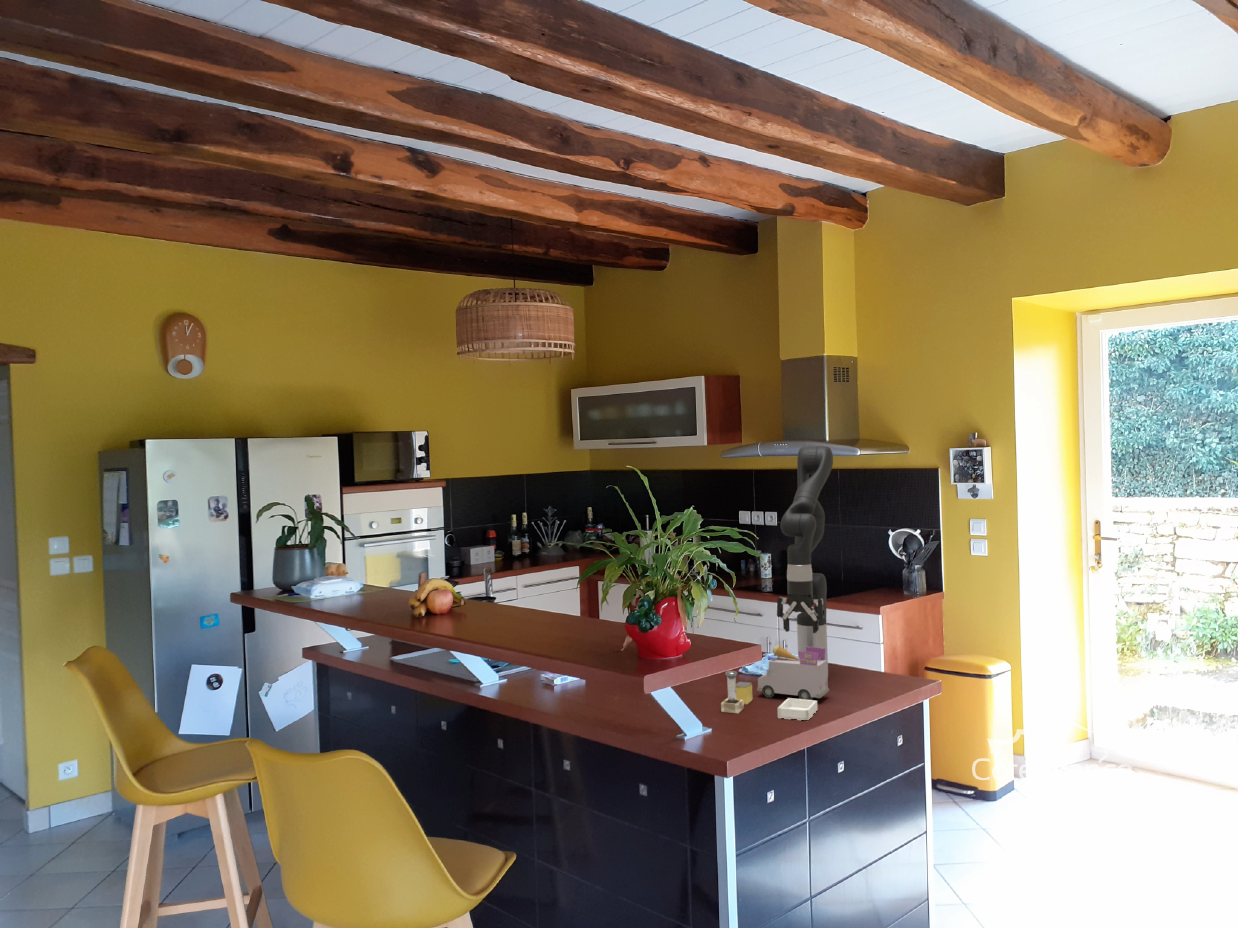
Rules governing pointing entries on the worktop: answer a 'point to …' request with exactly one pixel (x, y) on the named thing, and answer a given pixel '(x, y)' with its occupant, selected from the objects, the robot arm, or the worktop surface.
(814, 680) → the toy vehicle
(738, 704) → the holder
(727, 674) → the pin
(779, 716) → the tray
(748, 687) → the block
